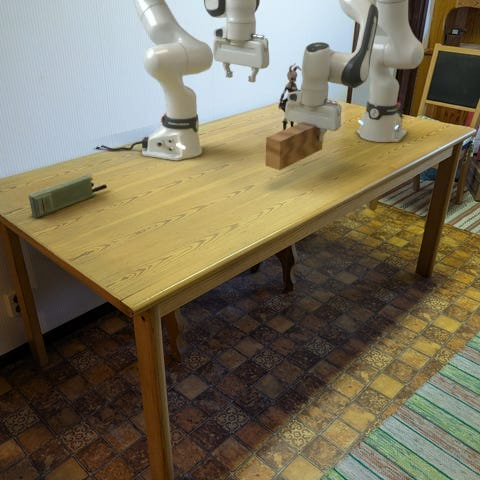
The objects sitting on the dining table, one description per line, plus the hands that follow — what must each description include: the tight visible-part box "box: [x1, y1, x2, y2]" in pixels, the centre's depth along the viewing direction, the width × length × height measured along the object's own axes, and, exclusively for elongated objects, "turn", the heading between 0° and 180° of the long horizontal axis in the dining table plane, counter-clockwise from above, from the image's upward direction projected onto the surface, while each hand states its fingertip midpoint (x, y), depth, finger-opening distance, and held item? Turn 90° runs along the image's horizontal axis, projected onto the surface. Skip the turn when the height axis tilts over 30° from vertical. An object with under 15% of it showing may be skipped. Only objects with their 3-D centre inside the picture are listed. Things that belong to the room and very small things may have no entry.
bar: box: [265, 122, 324, 171], centre depth 165 cm, size 24×6×10 cm, turn 139°
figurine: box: [278, 62, 302, 131], centre depth 199 cm, size 15×6×30 cm, turn 132°
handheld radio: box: [28, 173, 108, 219], centre depth 150 cm, size 7×3×25 cm
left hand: (240, 79), depth 159 cm, fingers open, 8 cm apart
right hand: (311, 138), depth 171 cm, fingers closed on bar, 5 cm apart
